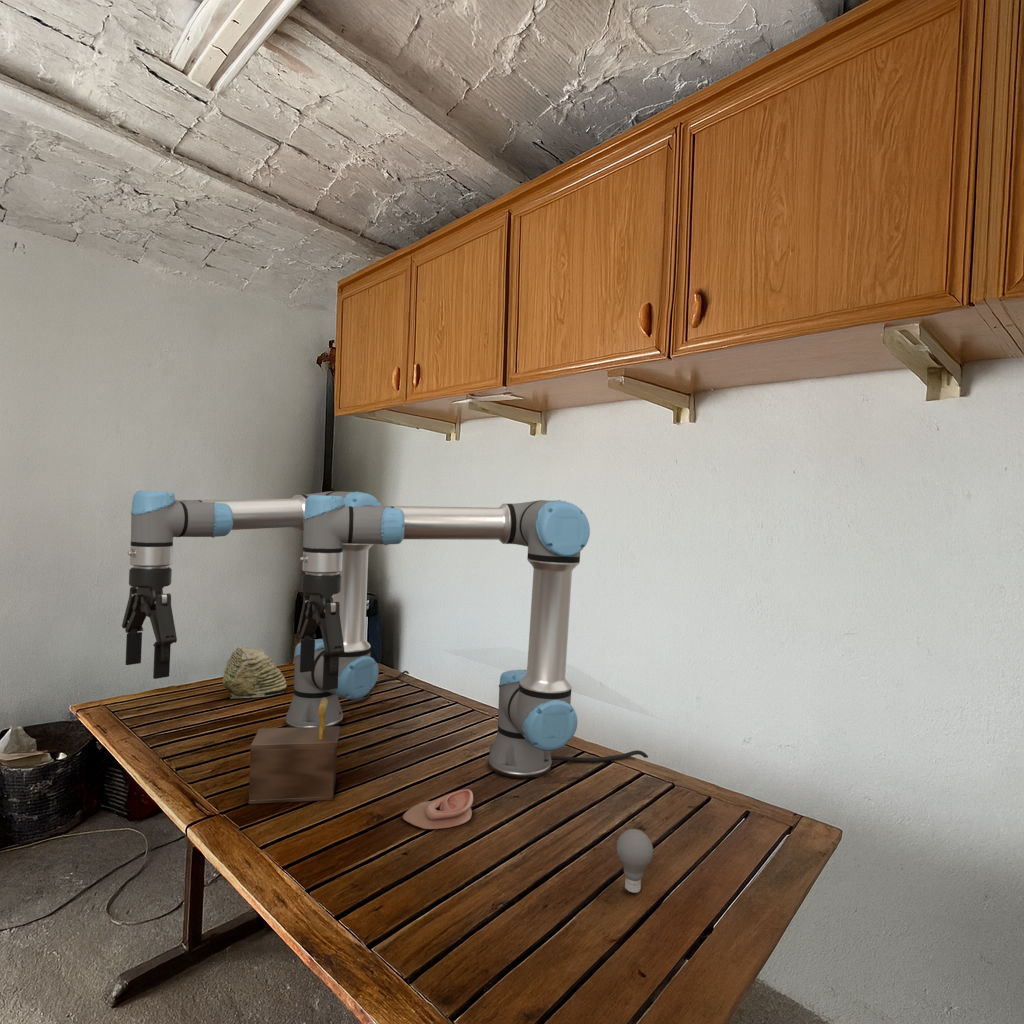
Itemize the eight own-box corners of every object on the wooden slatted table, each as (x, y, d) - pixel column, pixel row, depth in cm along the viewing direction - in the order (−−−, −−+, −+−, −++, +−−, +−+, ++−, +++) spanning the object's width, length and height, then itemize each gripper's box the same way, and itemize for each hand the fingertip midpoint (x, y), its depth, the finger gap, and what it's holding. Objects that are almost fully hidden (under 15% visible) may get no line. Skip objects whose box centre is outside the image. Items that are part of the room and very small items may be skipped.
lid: (339, 730, 142) (341, 695, 142) (337, 746, 132) (338, 709, 132) (259, 732, 138) (260, 696, 138) (250, 749, 129) (251, 711, 129)
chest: (335, 780, 142) (337, 730, 142) (332, 800, 133) (334, 747, 132) (257, 783, 138) (259, 732, 138) (248, 804, 129) (250, 750, 129)
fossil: (218, 695, 195) (220, 647, 195) (278, 685, 208) (279, 640, 207) (228, 703, 189) (230, 653, 188) (289, 692, 201) (290, 645, 201)
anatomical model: (397, 804, 123) (417, 779, 135) (396, 824, 123) (417, 798, 135) (462, 814, 121) (478, 788, 132) (462, 835, 121) (477, 807, 132)
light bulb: (610, 879, 108) (613, 822, 108) (644, 879, 109) (647, 822, 109) (619, 902, 102) (622, 840, 102) (655, 901, 103) (658, 840, 103)
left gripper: (106, 561, 134) (103, 661, 134) (157, 574, 118) (153, 687, 118) (145, 560, 140) (141, 656, 140) (198, 572, 124) (194, 679, 124)
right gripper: (283, 566, 133) (280, 667, 133) (325, 582, 113) (320, 700, 113) (319, 565, 137) (315, 662, 138) (365, 580, 117) (360, 694, 118)
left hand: (146, 670), depth 129 cm, fingers open, 13 cm apart
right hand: (317, 679), depth 126 cm, fingers open, 13 cm apart
